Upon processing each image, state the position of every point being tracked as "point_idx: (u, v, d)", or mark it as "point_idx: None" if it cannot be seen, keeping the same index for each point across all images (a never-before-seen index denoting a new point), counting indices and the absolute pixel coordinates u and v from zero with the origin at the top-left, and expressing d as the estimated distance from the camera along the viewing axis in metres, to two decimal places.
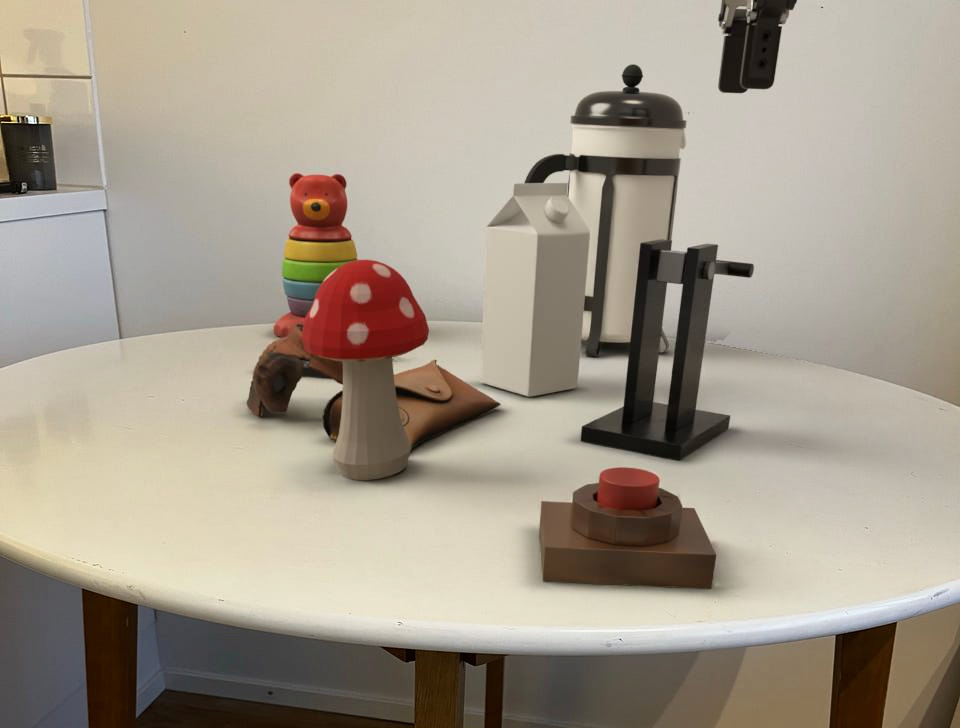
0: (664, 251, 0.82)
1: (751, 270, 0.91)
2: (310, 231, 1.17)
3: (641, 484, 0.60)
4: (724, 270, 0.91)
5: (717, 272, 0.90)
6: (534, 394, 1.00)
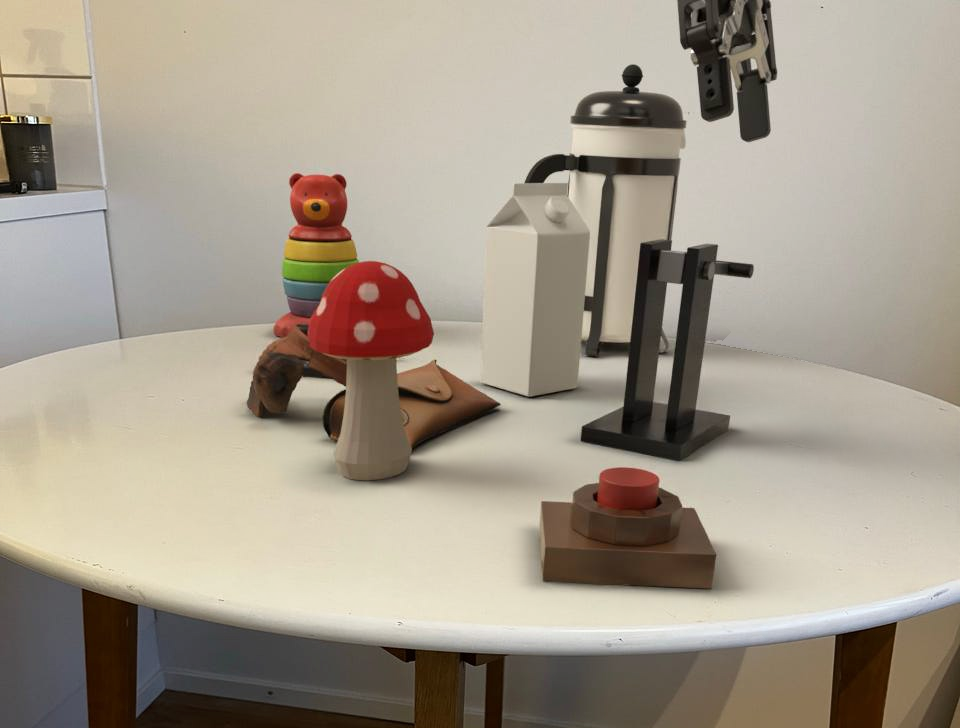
0: (664, 251, 0.82)
1: (751, 271, 0.92)
2: (310, 231, 1.17)
3: (641, 484, 0.60)
4: (724, 270, 0.91)
5: (717, 272, 0.90)
6: (534, 394, 1.00)
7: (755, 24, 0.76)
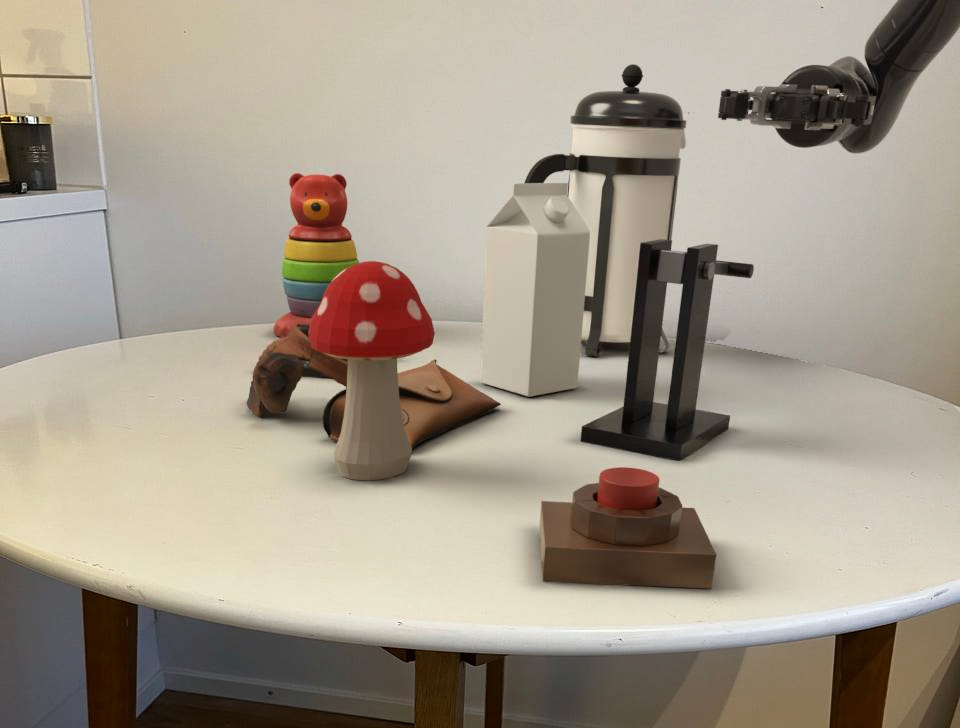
0: (664, 251, 0.82)
1: (751, 271, 0.92)
2: (310, 230, 1.17)
3: (641, 484, 0.60)
4: (724, 270, 0.91)
5: (717, 272, 0.90)
6: (534, 394, 1.00)
7: (818, 91, 0.98)
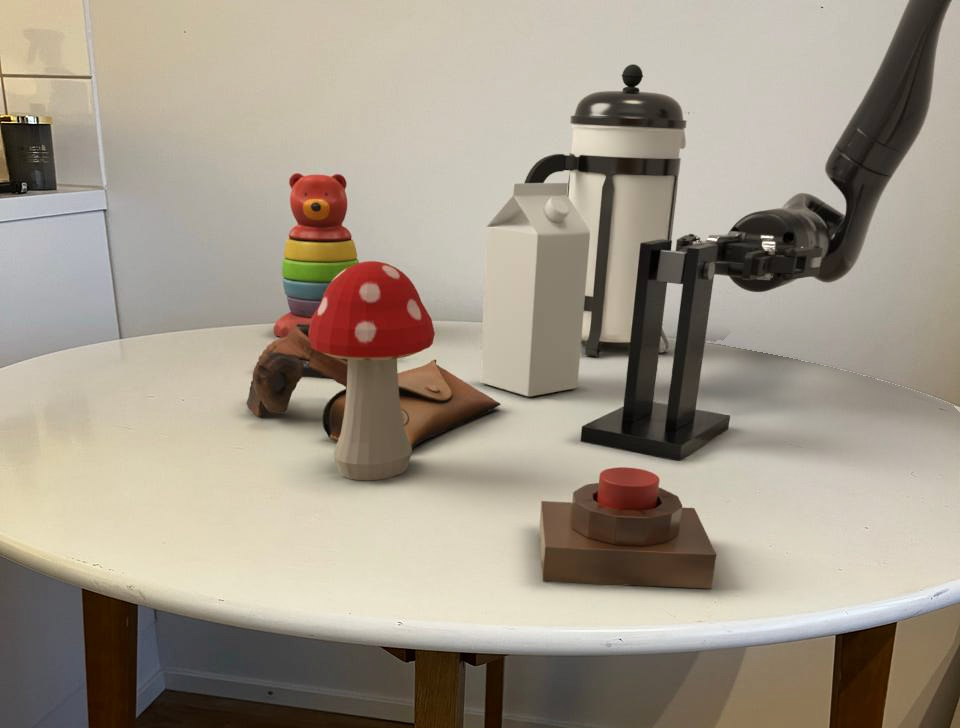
0: (664, 251, 0.82)
1: None
2: (310, 230, 1.17)
3: (641, 484, 0.60)
4: (724, 270, 0.91)
5: (717, 272, 0.90)
6: (534, 394, 1.00)
7: (760, 241, 0.95)
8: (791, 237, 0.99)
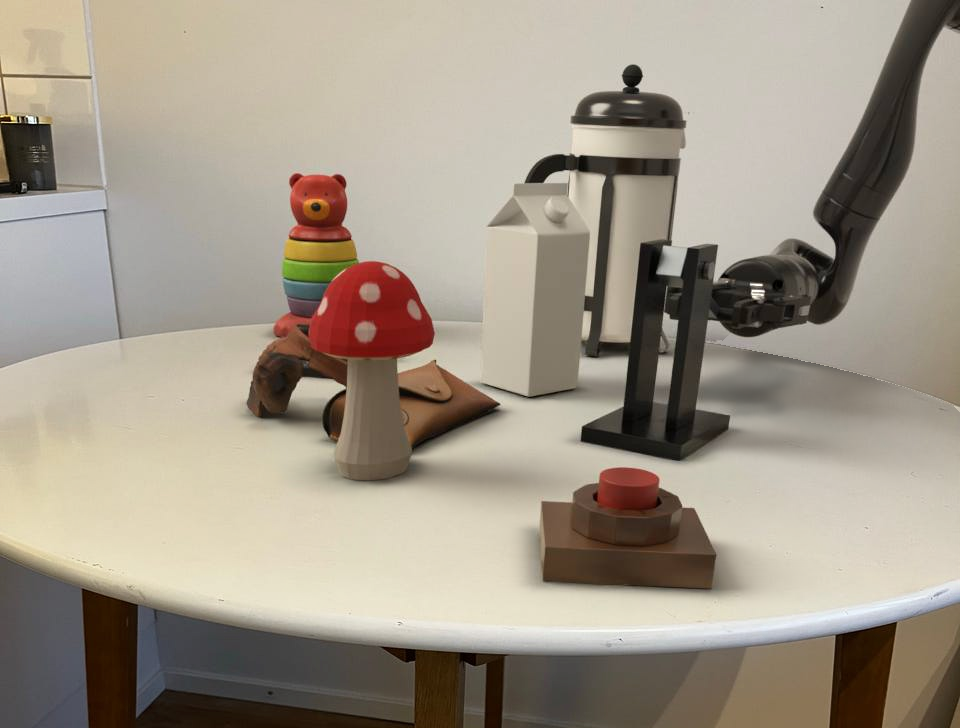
0: (667, 246, 0.82)
1: None
2: (310, 231, 1.17)
3: (641, 484, 0.60)
4: (715, 311, 0.92)
5: None
6: (534, 394, 1.00)
7: (749, 289, 0.96)
8: (780, 284, 1.01)
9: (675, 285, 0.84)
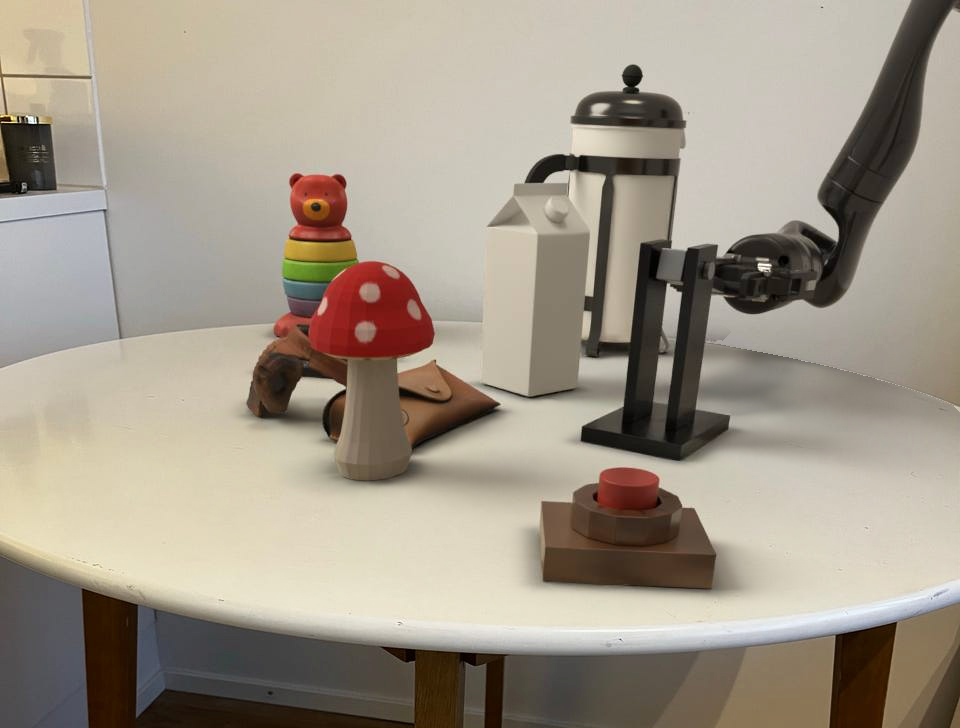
0: (665, 249, 0.82)
1: None
2: (310, 230, 1.17)
3: (641, 484, 0.60)
4: (721, 287, 0.92)
5: (714, 287, 0.90)
6: (534, 394, 1.00)
7: (756, 264, 0.96)
8: (786, 261, 1.00)
9: None
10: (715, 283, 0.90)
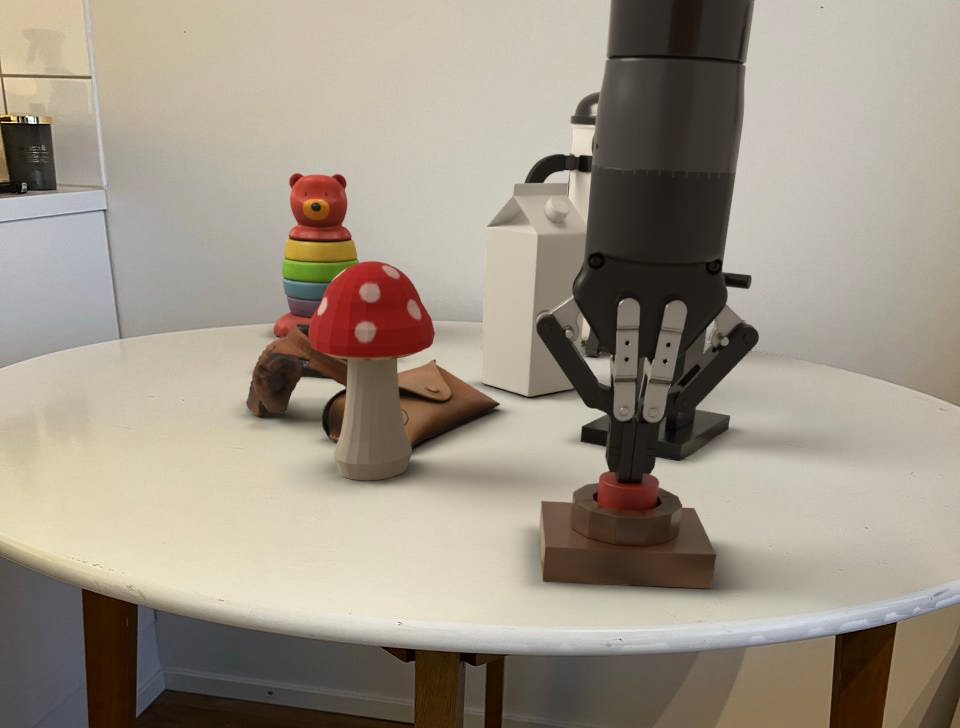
0: None
1: (749, 282, 0.92)
2: (310, 231, 1.17)
3: (641, 486, 0.60)
4: None
5: None
6: (534, 394, 1.00)
7: (657, 340, 0.56)
8: None
9: None
10: None
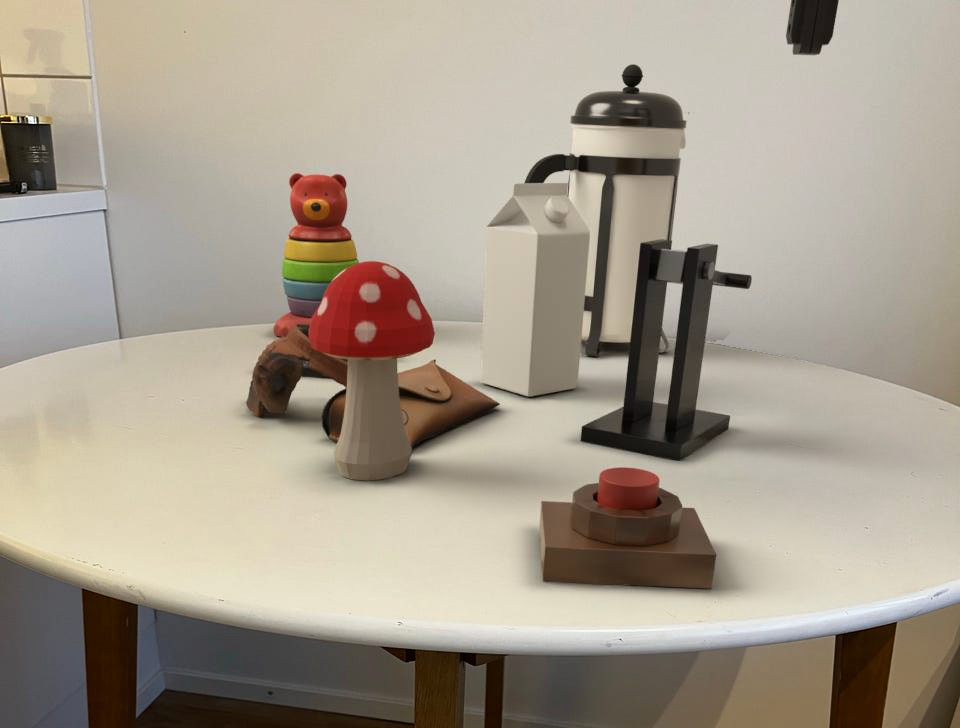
0: (665, 250, 0.82)
1: (749, 282, 0.92)
2: (310, 231, 1.17)
3: (641, 484, 0.60)
4: (722, 280, 0.92)
5: (715, 280, 0.90)
6: (534, 394, 1.00)
7: None
8: None
9: (677, 283, 0.84)
10: (716, 277, 0.90)
